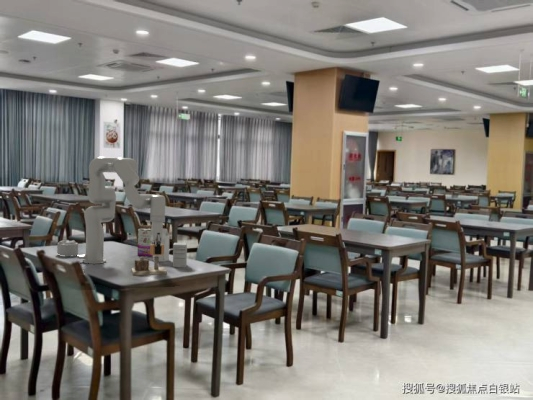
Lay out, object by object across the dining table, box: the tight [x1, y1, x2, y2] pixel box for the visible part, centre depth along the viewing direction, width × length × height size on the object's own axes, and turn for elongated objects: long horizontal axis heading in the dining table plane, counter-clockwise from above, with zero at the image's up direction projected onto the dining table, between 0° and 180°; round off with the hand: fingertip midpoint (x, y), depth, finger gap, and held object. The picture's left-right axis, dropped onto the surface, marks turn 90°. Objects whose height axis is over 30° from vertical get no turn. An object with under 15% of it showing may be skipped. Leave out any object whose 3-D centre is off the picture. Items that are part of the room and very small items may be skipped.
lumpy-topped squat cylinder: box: [56, 239, 79, 257], centre depth 319 cm, size 10×13×9 cm
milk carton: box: [152, 228, 170, 263], centre depth 310 cm, size 7×7×19 cm
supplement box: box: [172, 242, 188, 268], centre depth 296 cm, size 7×7×13 cm
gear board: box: [130, 256, 168, 276], centre depth 276 cm, size 17×11×8 cm, turn 109°
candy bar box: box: [137, 228, 153, 258], centre depth 326 cm, size 11×5×16 cm, turn 68°
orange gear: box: [150, 244, 164, 255], centre depth 277 cm, size 7×7×5 cm
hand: (156, 252), depth 277 cm, fingers closed on orange gear, 7 cm apart
